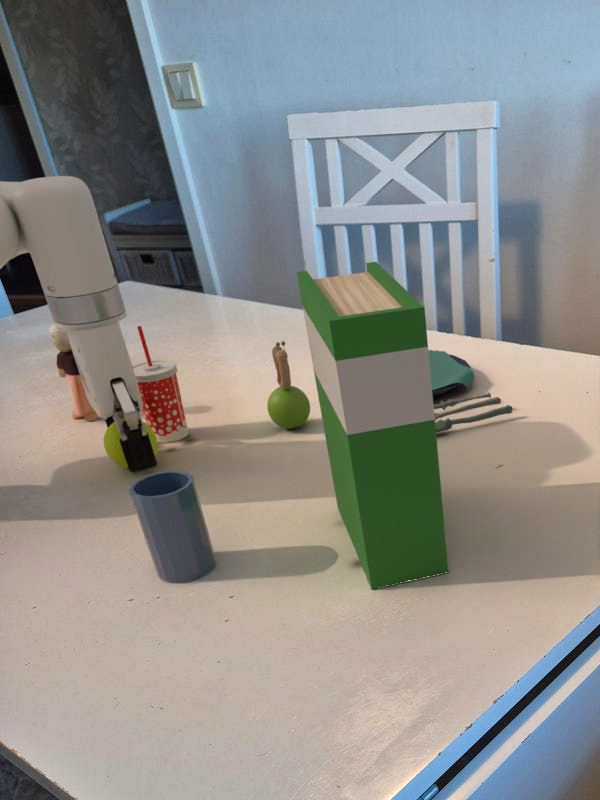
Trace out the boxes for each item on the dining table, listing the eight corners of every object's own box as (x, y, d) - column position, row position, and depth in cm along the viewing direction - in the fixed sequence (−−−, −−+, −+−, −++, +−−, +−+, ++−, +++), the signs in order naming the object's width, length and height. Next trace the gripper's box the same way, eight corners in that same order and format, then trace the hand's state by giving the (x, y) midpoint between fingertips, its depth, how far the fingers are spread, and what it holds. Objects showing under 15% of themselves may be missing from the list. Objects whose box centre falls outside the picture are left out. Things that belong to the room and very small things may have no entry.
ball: (109, 480, 100) (92, 432, 96) (116, 460, 105) (101, 413, 101) (160, 473, 101) (146, 425, 97) (166, 453, 105) (152, 407, 102)
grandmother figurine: (59, 420, 117) (24, 327, 109) (77, 410, 120) (45, 318, 112) (104, 424, 115) (72, 329, 107) (121, 413, 118) (92, 321, 110)
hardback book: (337, 507, 91) (296, 272, 76) (404, 495, 92) (375, 261, 78) (371, 589, 77) (329, 320, 63) (448, 572, 79) (424, 307, 64)
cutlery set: (440, 355, 131) (439, 340, 130) (528, 416, 109) (528, 399, 107) (317, 379, 125) (314, 364, 123) (383, 450, 102) (381, 432, 101)
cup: (154, 586, 80) (125, 501, 74) (160, 557, 84) (133, 475, 79) (214, 578, 80) (190, 492, 75) (217, 549, 85) (194, 467, 79)
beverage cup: (164, 425, 113) (133, 318, 105) (203, 428, 112) (175, 320, 103) (136, 443, 109) (102, 333, 100) (177, 446, 107) (145, 335, 99)
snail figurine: (277, 441, 107) (257, 345, 99) (268, 424, 111) (248, 332, 104) (319, 432, 108) (302, 338, 101) (308, 416, 113) (291, 325, 106)
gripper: (39, 297, 96) (90, 442, 107) (64, 331, 84) (119, 491, 94) (106, 285, 99) (149, 427, 109) (140, 316, 87) (185, 473, 97)
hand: (135, 456), depth 102 cm, fingers open, 7 cm apart
